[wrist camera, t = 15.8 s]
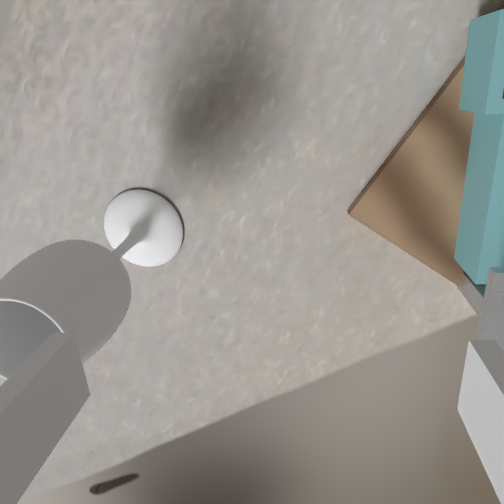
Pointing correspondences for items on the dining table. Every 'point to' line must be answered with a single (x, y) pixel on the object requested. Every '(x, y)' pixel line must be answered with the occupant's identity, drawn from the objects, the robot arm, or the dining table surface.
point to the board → (424, 183)
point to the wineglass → (84, 280)
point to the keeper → (487, 304)
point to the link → (483, 150)
